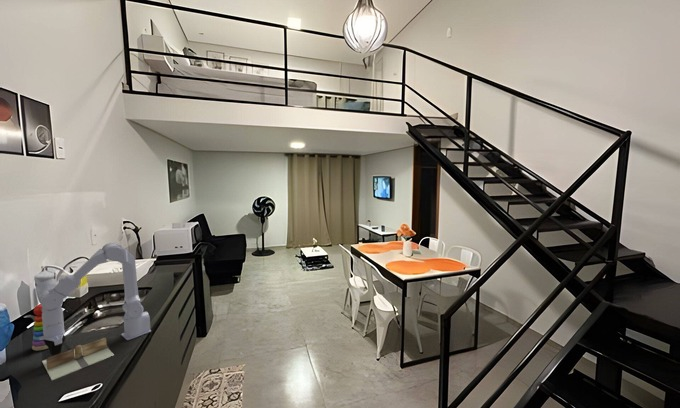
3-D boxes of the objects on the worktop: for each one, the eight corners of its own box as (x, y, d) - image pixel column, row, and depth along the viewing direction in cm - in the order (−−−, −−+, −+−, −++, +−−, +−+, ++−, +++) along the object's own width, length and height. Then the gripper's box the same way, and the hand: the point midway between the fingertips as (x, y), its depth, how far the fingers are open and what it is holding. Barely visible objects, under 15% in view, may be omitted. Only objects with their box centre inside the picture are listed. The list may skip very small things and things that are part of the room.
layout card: (101, 340, 125) (101, 339, 125) (115, 355, 115) (115, 354, 115) (42, 361, 110) (42, 360, 110) (52, 381, 100) (52, 380, 100)
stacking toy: (64, 340, 125) (60, 300, 124) (45, 351, 117) (42, 308, 116) (45, 341, 125) (42, 300, 123) (26, 351, 117) (22, 308, 115)
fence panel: (73, 357, 112) (73, 348, 111) (74, 359, 111) (74, 350, 111) (47, 368, 106) (46, 358, 105) (47, 369, 105) (46, 359, 105)
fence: (105, 347, 120) (104, 335, 120) (107, 348, 119) (106, 337, 119) (74, 358, 112) (73, 346, 112) (76, 360, 111) (75, 348, 111)
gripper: (35, 321, 111) (38, 354, 112) (42, 333, 103) (45, 368, 104) (59, 314, 117) (62, 345, 118) (68, 325, 108) (71, 358, 109)
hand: (56, 355), depth 111 cm, fingers closed
